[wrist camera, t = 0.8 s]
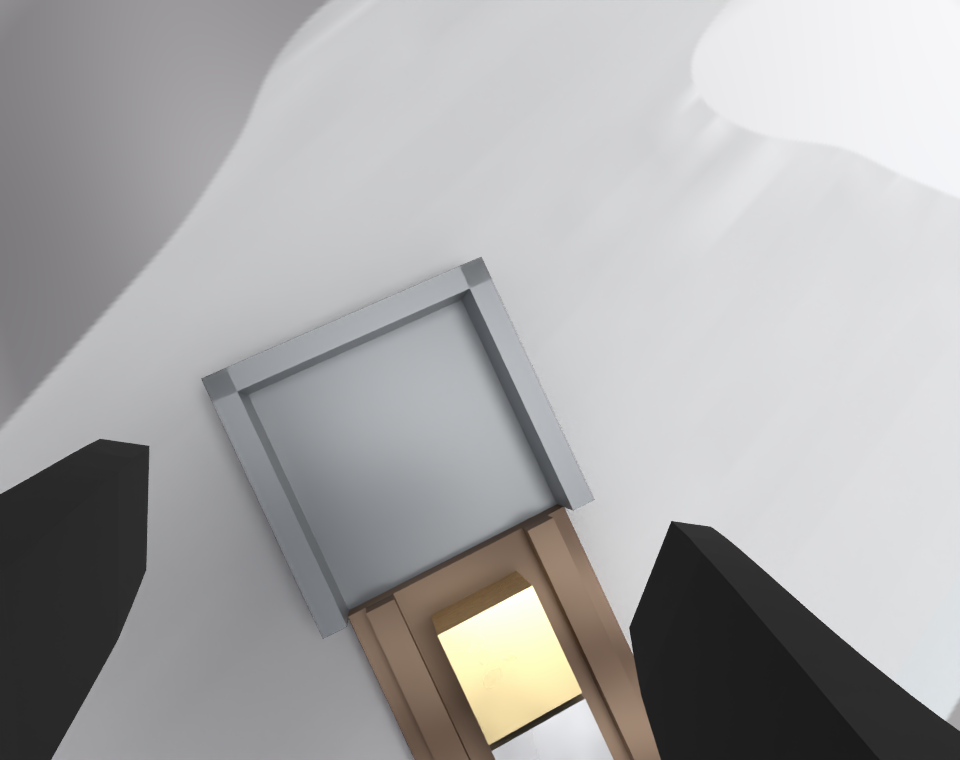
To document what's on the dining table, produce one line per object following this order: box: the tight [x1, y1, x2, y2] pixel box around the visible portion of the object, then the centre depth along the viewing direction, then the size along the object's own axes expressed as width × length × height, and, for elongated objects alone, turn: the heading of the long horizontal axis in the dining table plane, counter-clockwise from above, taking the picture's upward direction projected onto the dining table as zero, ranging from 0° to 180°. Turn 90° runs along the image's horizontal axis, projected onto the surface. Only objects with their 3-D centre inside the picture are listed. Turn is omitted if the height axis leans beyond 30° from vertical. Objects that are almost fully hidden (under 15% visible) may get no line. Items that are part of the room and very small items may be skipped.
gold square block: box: [431, 571, 582, 745], centre depth 29 cm, size 4×4×3 cm
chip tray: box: [202, 257, 595, 639], centre depth 30 cm, size 11×12×3 cm
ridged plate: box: [348, 504, 661, 760], centre depth 31 cm, size 13×10×2 cm
